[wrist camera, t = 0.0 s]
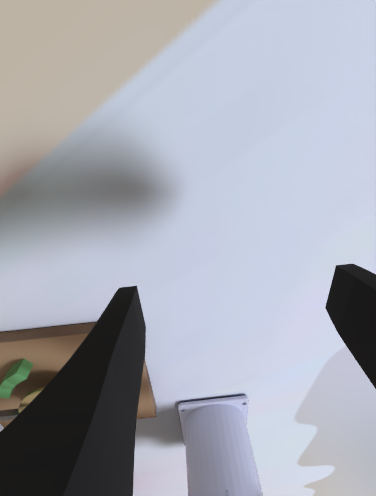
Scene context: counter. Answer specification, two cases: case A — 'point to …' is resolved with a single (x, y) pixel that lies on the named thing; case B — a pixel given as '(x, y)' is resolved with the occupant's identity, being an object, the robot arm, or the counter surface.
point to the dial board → (48, 364)
